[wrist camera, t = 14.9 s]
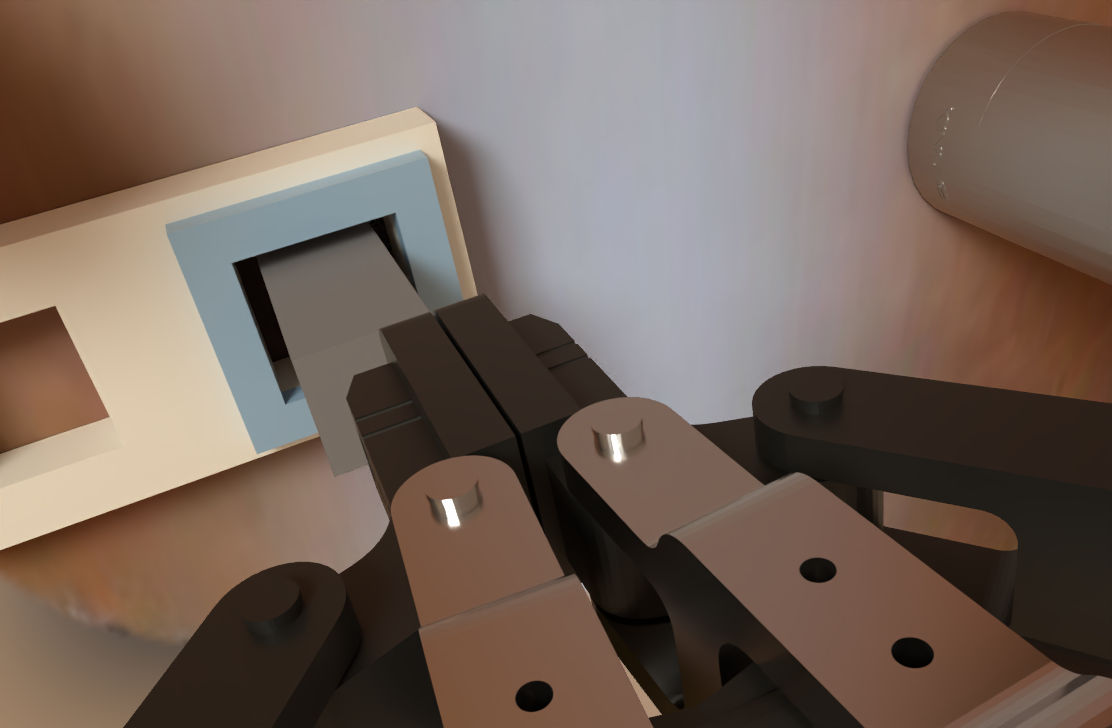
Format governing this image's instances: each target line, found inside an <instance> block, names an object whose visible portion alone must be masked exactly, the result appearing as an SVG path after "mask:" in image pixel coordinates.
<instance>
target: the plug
mask: <svg viewBox="0 0 1112 728" xmlns="http://www.w3.org/2000/svg"><path fill="white" fill-rule="evenodd" d="M256 258H257V261H258V264H259V267H260V270H261V273H262V276H263V279H264V282H265V285H266V287H267V290H268V293H269V296H270V299H271V302H272V305H273V308H274V311H275V314H276V317H277V320H278V323H279V326H280V329H281V332H282V335H283V338H284V340H285V343H286V346H287V349H288V352H289V355H290V358H291V361H292V364H293V366H294V369H295V372H296V374H297V377H298V380H299V382H300V385H301V388H302V390H303V393H304V396H305V399H306V401H307V404H308V407H309V409H310V412H311V415H312V417H313V420H314V423H315V425H316V428H317V431H318V433H319V436H320V439H321V441H322V444H323V447H324V449H325V452H326V455H327V457H328V460H329V463H330V465H331V468H332V471H333V473H334V476H335V477H336V476H338V475H341V474H344V473H346V472H349V471H352V470H354V469H357V468H360V467H363V466H365V465H368V462H367V459H366V456H365V453H364V450H363V447H362V444H361V441H360V438H359V435H358V432H357V429H356V426H355V423H354V420H353V418H352V415H351V412H350V409H349V406H348V403H347V400H346V397H347V394H348V391H349V388H350V385H351V382H352V379H353V376H354V375H356V374H359V373H362V372H365V371H368V370H371V369H373V368H376V367H379V366H382V365H385V364H388V363H387V360H386V356H385V353H384V350H383V347H382V343H381V340H380V336H379V329H380V328H383V327H386V326H389V325H392V324H395V323H398V322H401V321H404V320H407V319H410V318H413V317H416V316H419V315H421V314H424V313H427V312H429V310H428V309H427V307H426V306H425V304H424V303H423V301H422V300H421V298H420V297H419V295H418V294H417V293H416V291H415V290H414V288H413V287H412V285H411V284H410V282H409V281H408V279H407V278H406V276H405V275H404V274H403V272H402V271H401V269H400V268H399V266H398V265H397V263H396V262H395V260H394V259H393V257H392V256H391V254H390V253H389V252H388V250H387V249H386V247H385V246H384V244H383V243H382V241H381V240H380V238H379V237H378V235H377V234H376V233H375V231H374V230H373V228H372V227H371V225H370V224H369V222H368V221H367V222H363V223H360V224H357V225H354V226H350V227H347V228H344V229H341V230H337V231H334V232H331V233H328V234H324V235H321V236H318V237H315V238H311V239H308V240H305V241H302V242H298V243H295V244H292V245H289V246H285V247H282V248H279V249H276V250H272V251H269V252H266V253H263V254H259V255H256Z"/></svg>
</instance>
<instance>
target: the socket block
mask: <svg viewBox="0 0 1112 728" xmlns="http://www.w3.org/2000/svg"><path fill="white" fill-rule="evenodd" d="M380 217H383V220H384V223H385V227H386V230H387V234H388V237H389V241H390V244H391V248H392V251H393V255H394V258H395V262H396V263H397V265H398V266H399V268H400V269H401V271H402V272H403V274H404V275H405V276H406V278H407V279H408V281H409V282H410V284H411V285H412V287H413V288H414V290H415V291H416V293H417V294H418V295H419V297H420V298H421V300H422V301H423V303H424V304H425V306H426V307H427V309H428V310H429V312H431V314H432V315H433V310H436V309H439V308H442V307H445V306H448V305H451V304H454V303H457V302H460V301H463V300H466V299H469V298H472V297H475V296H478V294H477V290H476V286H475V282H474V278H473V274H472V270H471V266H470V262H469V257H468V253H467V249H466V245H465V241H464V237H463V233H462V229H461V225H460V221H459V216H458V212H457V208H456V204H455V200H454V196H453V192H452V188H451V184H450V179H449V175H448V171H447V167H446V163H445V159H444V155H443V151H442V147H441V143H440V138H439V134H438V130H437V126H436V122H435V121H434V120H432V119H431V118H430V117H429V116H428V115H426V114H425V113H424V112H423V111H422V110H420V109H419V108H418V107H414V108H410V109H407V110H403V111H400V112H396V113H393V114H389V115H386V116H382V117H379V118H375V119H372V120H368V121H364V122H361V123H357V124H354V125H350V126H347V127H343V128H340V129H336V130H333V131H329V132H326V133H322V134H319V135H315V136H311V137H308V138H304V139H301V140H297V141H294V142H290V143H287V144H283V145H280V146H276V147H273V148H269V149H266V150H262V151H258V152H255V153H251V154H248V155H244V156H241V157H237V158H234V159H230V160H227V161H223V162H220V163H216V164H212V165H209V166H205V167H202V168H198V169H195V170H191V171H188V172H184V173H181V174H177V175H174V176H170V177H167V178H163V179H159V180H156V181H152V182H149V183H145V184H142V185H138V186H135V187H131V188H128V189H124V190H121V191H117V192H114V193H110V194H106V195H103V196H99V197H96V198H92V199H89V200H85V201H82V202H78V203H75V204H71V205H68V206H64V207H61V208H57V209H53V210H50V211H46V212H43V213H39V214H36V215H32V216H29V217H25V218H22V219H18V220H15V221H11V222H7V223H4V224H0V322H4V321H7V320H10V319H13V318H17V317H20V316H23V315H27V314H30V313H33V312H36V311H40V310H43V309H46V308H49V307H53V306H56V308H57V310H58V312H59V314H60V316H61V319H62V321H63V323H64V325H65V327H66V329H67V331H68V333H69V335H70V337H71V339H72V341H73V343H74V345H75V347H76V349H77V351H78V353H79V355H80V357H81V359H82V361H83V363H84V365H85V367H86V369H87V371H88V373H89V375H90V377H91V379H92V381H93V383H94V385H95V387H96V389H97V391H98V393H99V395H100V398H101V400H102V402H103V404H104V406H105V408H106V410H107V412H108V414H109V416H110V417H108V418H105V419H103V420H100V421H97V422H94V423H91V424H88V425H85V426H82V427H79V428H76V429H73V430H70V431H67V432H64V433H61V434H58V435H55V436H52V437H49V438H46V439H43V440H40V441H37V442H34V443H31V444H28V445H25V446H22V447H19V448H16V449H13V450H10V451H7V452H4V453H1V454H0V550H2V549H5V548H8V547H11V546H13V545H16V544H19V543H22V542H25V541H27V540H30V539H33V538H36V537H39V536H41V535H44V534H47V533H50V532H53V531H55V530H58V529H61V528H64V527H67V526H69V525H72V524H75V523H78V522H81V521H83V520H86V519H89V518H92V517H95V516H97V515H100V514H103V513H106V512H109V511H111V510H114V509H117V508H120V507H123V506H125V505H128V504H131V503H134V502H137V501H139V500H142V499H145V498H148V497H151V496H153V495H156V494H159V493H162V492H165V491H167V490H170V489H173V488H176V487H179V486H181V485H184V484H187V483H190V482H193V481H195V480H198V479H201V478H204V477H207V476H209V475H212V474H215V473H218V472H221V471H223V470H226V469H229V468H232V467H235V466H237V465H240V464H243V463H246V462H249V461H251V460H254V459H257V458H260V457H263V456H265V455H268V454H271V453H274V452H277V451H279V450H282V449H285V448H288V447H291V446H293V445H296V444H299V443H302V442H305V441H307V440H310V439H313V438H316V437H319V433H318V431H317V428H316V425H315V423H314V420H313V417H312V415H311V412H310V409H309V407H308V404H307V401H306V399H305V396H304V393H303V390H302V388H301V385H300V382H299V380H298V377H297V374H296V372H295V369H294V366H293V364H292V361H291V358H290V357H288V358H285V359H282V360H279V361H276V362H272V359H271V357H270V354H269V351H268V349H267V346H266V343H265V341H264V338H263V336H262V333H261V330H260V328H259V325H258V322H257V320H256V317H255V314H254V312H253V309H252V306H251V304H250V301H249V299H248V296H247V293H246V291H245V288H244V285H243V283H242V280H241V277H240V275H239V272H238V269H237V267H236V264H235V262H237V261H240V260H243V259H246V258H250V257H253V256H256V255H259V254H263V253H266V252H269V251H272V250H276V249H279V248H282V247H285V246H289V245H292V244H295V243H298V242H302V241H305V240H308V239H311V238H315V237H318V236H321V235H324V234H328V233H331V232H334V231H337V230H341V229H344V228H347V227H350V226H354V225H357V224H360V223H363V222H367V221H370V220H373V219H376V218H380Z"/></svg>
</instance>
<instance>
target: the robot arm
mask: <svg viewBox="0 0 1112 728" xmlns="http://www.w3.org/2000/svg"><path fill="white" fill-rule="evenodd" d="M907 147H908V159H909V167H910V171H911V174H912V177H913V180H914V184H915V185H916V187H917V189H918V190H919V192H920V193H921V195H922V197H923V198H924V199H925V200H926V201H927V202H928V203H929V204H931V205H932V206H933V207H934V208H935V209H938V210H940V211H942V212H944V213H946V214H949V215H951V216H953V217H956V218H958V219H960V220H962V221H965V222H967V223H969V224H972V225H974V226H976V227H978V228H981V229H983V230H985V231H988V232H990V233H992V234H995V235H997V236H999V237H1001V238H1003V239H1005V240H1007V241H1010V242H1012V243H1014V244H1017V245H1019V246H1022V247H1024V248H1026V249H1029V250H1031V251H1033V252H1036V253H1038V254H1040V255H1043V256H1045V257H1047V258H1050V259H1052V260H1054V261H1057V262H1059V263H1061V264H1064V265H1066V266H1068V267H1071V268H1073V269H1075V270H1078V271H1080V272H1082V273H1085V274H1087V275H1089V276H1092V277H1094V278H1096V279H1099V280H1101V281H1103V282H1106V283H1108V284H1110V285H1112V27H1110V26H1105V25H1100V24H1095V23H1089V22H1083V21H1077V20H1071V19H1065V18H1059V17H1053V16H1047V15H1041V14H1035V13H1029V12H1006V13H1002V14H999V15H995V16H992V17H989V18H987V19H985V20H983V21H981V22H980V23H978V24H976V25H974V26H972V27H971V28H969V29H968V30H967V31H966V32H965V33H963V34H962V35H961V36H960V37H959V38H957V39H956V40H955V41H954V42H953V43H952V44H951V45H950V46H949V47H948V49H947V50H946V51H945V52H944V53H943V54H942V56H941V57H940V58H939V59H938V60H937V62H936V64H935V65H934V67H933V68H932V70H931V72H930V73H929V75H928V76H927V78H926V80H925V82H924V84H923V86H922V88H921V91H920V93H919V95H918V98H917V100H916V102H915V106H914V110H913V114H912V117H911V121H910V125H909V135H908V146H907ZM379 336H380V340H381V343H382V347H383V350H384V353H385V356H386V360H387V363H388V364H385V365H382V366H379V367H376V368H373V369H371V370H368V371H365V372H362V373H359V374H356V375H354V376H353V379H352V382H351V385H350V388H349V391H348V394H347V397H346V400H347V403H348V406H349V409H350V412H351V415H352V418H353V420H354V423H355V426H356V429H357V432H358V435H359V438H360V441H361V444H362V447H363V450H364V453H365V456H366V459H367V462H368V464H369V467H370V470H371V473H372V476H373V479H374V482H375V485H376V488H377V490H378V493H379V495H380V498H381V500H382V503H383V505H384V508H385V510H386V512H387V515H388V518H389V520H390V521H389V525H388V527H387V529H386V532H385V533H384V535H383V536H382V538H381V539H380V541H379V542H378V543H377V544H376V545H375V547H374V548H373V549H372V550H371V551H370V552H369V553H368V554H366V555H365V556H364V557H363V558H362V559H360V560H359V561H358V562H356V563H355V564H354V565H352V566H351V567H349V568H347V569H346V570H344V571H343V572H341V573H340V574H338V573H337V572H336V571H335V570H333V569H331V568H330V567H328V566H325V565H322V564H319V563H313V562H294V563H286V564H282V565H278V566H274V567H272V568H269V569H266V570H263V571H261V572H259V573H257V574H255V575H252V576H251V577H249V578H247V579H246V580H244V581H242V582H241V583H239V584H238V585H237V586H235V587H234V588H233V589H231V590H230V591H229V592H228V593H227V594H226V595H225V596H224V597H223V598H222V599H221V600H220V601H219V602H218V603H217V604H216V606H215V607H214V608H213V609H212V611H211V612H210V613H209V615H208V616H207V617H206V619H205V620H204V621H203V623H202V624H201V625H200V627H199V628H198V629H197V631H196V632H195V633H194V635H193V636H192V637H191V639H190V640H189V641H188V643H187V644H186V645H185V647H184V648H183V649H182V651H181V652H180V653H179V655H178V656H177V658H175V660H174V661H173V662H172V664H171V665H170V666H169V668H168V669H167V671H166V672H165V673H164V674H163V676H162V677H161V678H160V680H159V681H158V682H157V684H156V685H155V686H154V688H153V689H152V690H151V692H150V693H149V694H148V696H147V697H146V698H145V700H144V701H143V702H142V704H141V705H140V706H139V708H138V709H137V710H136V711H135V713H134V714H133V716H132V717H131V718H130V720H129V721H128V722H127V723H126V725H125V726H124V727H123V728H1112V404H1111V403H1104V402H1096V401H1088V400H1081V399H1073V398H1066V397H1058V396H1051V395H1043V394H1035V393H1028V392H1020V391H1013V390H1005V389H998V388H990V387H982V386H975V385H967V384H960V383H952V382H944V381H937V380H929V379H922V378H914V377H907V376H899V375H891V374H884V373H876V372H869V371H861V370H854V369H846V368H838V367H828V366H811V367H802V368H797V369H792V370H789V371H785V372H782V373H780V374H778V375H775V376H773V377H772V378H770V379H768V380H767V381H765V382H764V383H763V384H762V385H761V386H760V387H759V388H758V389H757V390H756V392H755V394H754V396H753V400H752V408H753V417H748V418H742V419H736V420H729V421H723V422H717V423H710V424H699V425H690V424H689V423H688V422H687V421H685V420H684V419H683V418H682V417H681V416H679V415H678V414H677V413H676V412H674V411H673V410H672V409H671V408H669V407H668V406H666V405H665V404H662V403H660V402H658V401H654V400H651V399H646V398H639V397H627V396H626V395H625V394H624V393H623V392H622V391H621V390H620V389H619V388H618V386H617V385H616V384H615V383H614V382H613V381H612V380H611V379H610V378H609V377H608V376H607V375H606V374H605V373H604V372H603V371H602V370H601V368H600V367H599V366H598V365H597V364H596V363H595V362H594V361H593V360H592V359H591V358H588V356H587V354H586V353H585V352H584V350H583V349H582V348H581V347H580V346H579V345H578V344H575V342H574V340H573V339H572V338H571V337H570V336H569V335H568V334H567V332H566V331H565V330H564V329H563V328H562V327H561V326H560V325H559V324H557V323H554V322H552V321H549V320H546V319H543V318H540V317H537V316H535V315H532V314H529V315H527V316H524V317H521V318H518V319H515V320H512V321H509V322H508V321H507V320H506V319H505V318H504V317H503V315H502V314H501V313H500V312H499V311H498V309H497V308H496V307H495V306H494V305H493V303H492V302H491V301H490V300H489V299H488V298H487V296H486V295H485V294H481V295H478V296H475V297H472V298H469V299H466V300H463V301H460V302H457V303H454V304H451V305H448V306H445V307H442V308H439V309H436V310H433V315H432V314H431V312H427V313H424V314H421V315H419V316H416V317H413V318H410V319H407V320H404V321H401V322H398V323H395V324H392V325H389V326H386V327H383V328H380V329H379ZM883 491H885V492H890V493H895V494H900V495H905V496H911V497H916V498H921V499H926V500H932V501H937V502H942V503H947V504H952V505H958V506H963V507H968V508H973V509H979V510H983V511H987V512H989V513H992V514H994V515H996V516H998V517H1000V518H1001V519H1002V520H1004V521H1005V522H1006V523H1007V524H1008V525H1009V526H1010V527H1011V528H1012V529H1013V531H1014V532H1015V534H1016V536H1017V540H1018V549H1017V550H1012V551H1000V550H994V549H990V548H985V547H980V546H975V545H971V544H966V543H961V542H956V541H951V540H947V539H942V538H937V537H932V536H928V535H923V534H918V533H913V532H908V531H904V530H899V529H894V528H889V527H885V526H883ZM581 583H583V585H584V586H585V588H586V589H587V591H588V592H589V594H590V598H591V602H590V600H589V598H588V596H587V594H586V592H585V590H584V588H583V586H582V584H581ZM591 603H592V604H591ZM618 657H619V658H618ZM619 659H620V660H621V661H622V663H623V664H624V665H625V667H626V668H627V669H628V671H629V672H630V673H631V675H632V676H633V677H634V679H635V680H636V681H637V682H638V684H639V685H640V686H641V688H642V689H643V690H644V692H645V693H646V694H647V696H648V697H649V698H650V700H651V701H652V702H653V703H654V705H655V706H656V708H657V709H658V710H659V712H660V713H661V714H662V715H659V716H655V717H650V718H648V716H647V714H646V712H645V710H644V708H643V706H642V704H641V702H640V700H639V698H638V696H637V694H636V692H635V690H634V688H633V686H632V684H631V682H630V680H629V678H628V676H627V674H626V672H625V670H624V668H623V666H622V664H621V662H620V660H619Z"/></svg>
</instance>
